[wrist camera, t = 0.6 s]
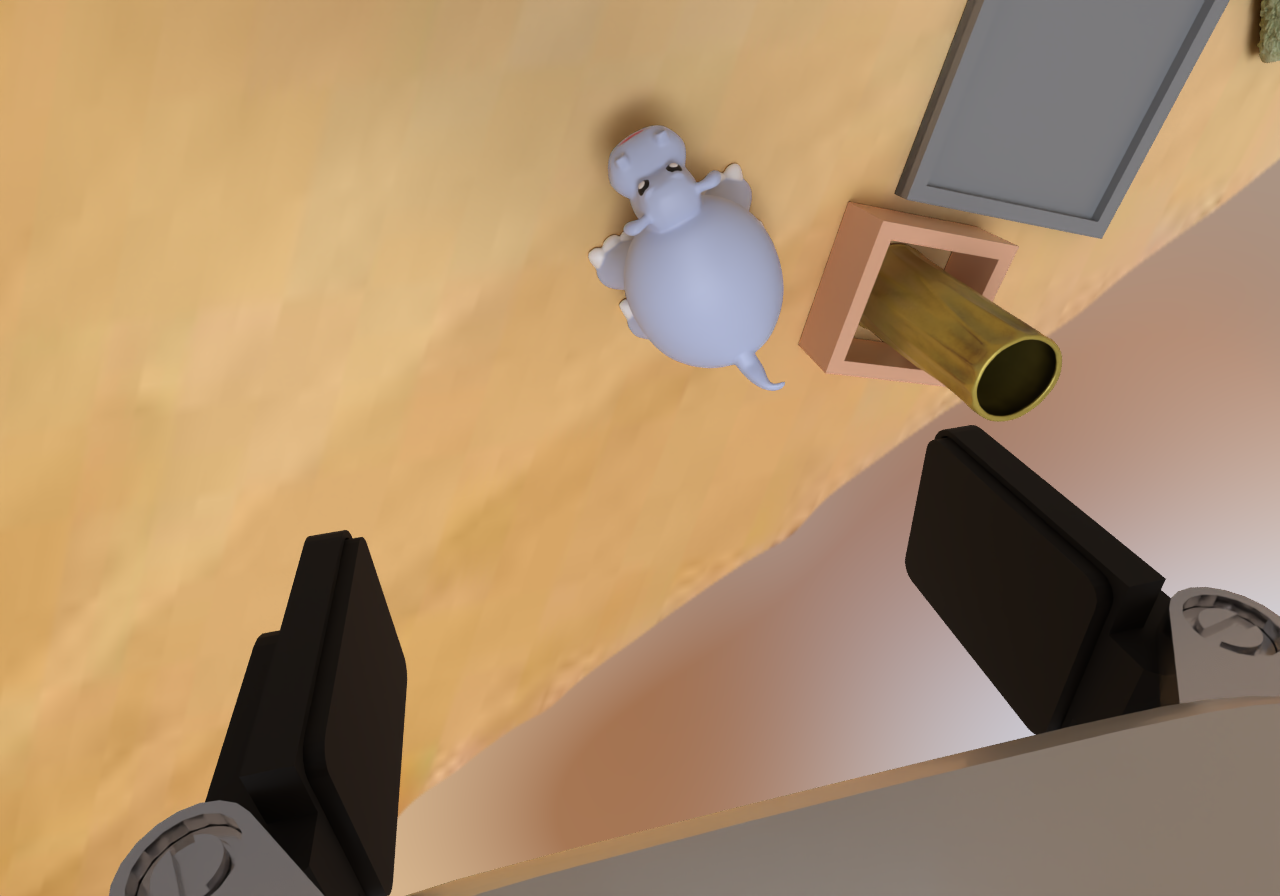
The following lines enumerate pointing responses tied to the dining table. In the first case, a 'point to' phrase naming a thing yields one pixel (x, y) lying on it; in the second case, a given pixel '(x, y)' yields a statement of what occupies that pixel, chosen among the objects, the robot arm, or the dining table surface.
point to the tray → (1053, 106)
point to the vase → (960, 337)
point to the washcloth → (1269, 31)
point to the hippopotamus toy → (691, 258)
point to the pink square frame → (854, 275)
